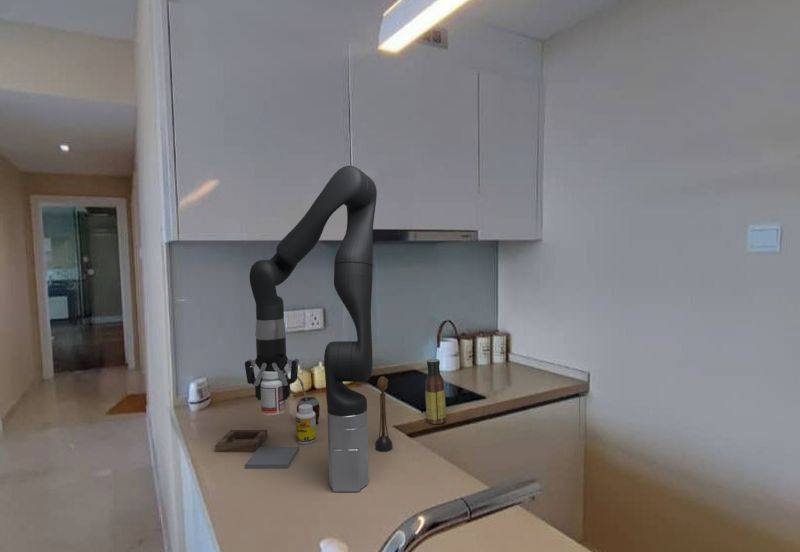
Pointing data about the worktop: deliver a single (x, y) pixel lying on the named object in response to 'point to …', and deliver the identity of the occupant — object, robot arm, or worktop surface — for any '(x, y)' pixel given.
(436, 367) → the sauce bottle
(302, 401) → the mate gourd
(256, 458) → the mat
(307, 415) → the supplement bottle
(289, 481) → the worktop surface
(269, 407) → the pill bottle
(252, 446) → the socket block
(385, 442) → the wooden tabletop sculpture
